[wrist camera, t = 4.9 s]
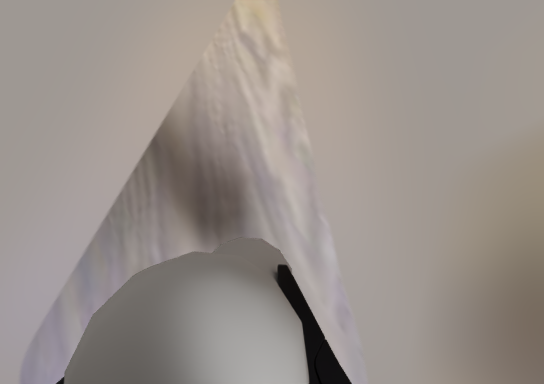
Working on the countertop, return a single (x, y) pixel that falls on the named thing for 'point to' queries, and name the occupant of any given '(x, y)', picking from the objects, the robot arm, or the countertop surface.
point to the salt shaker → (197, 324)
